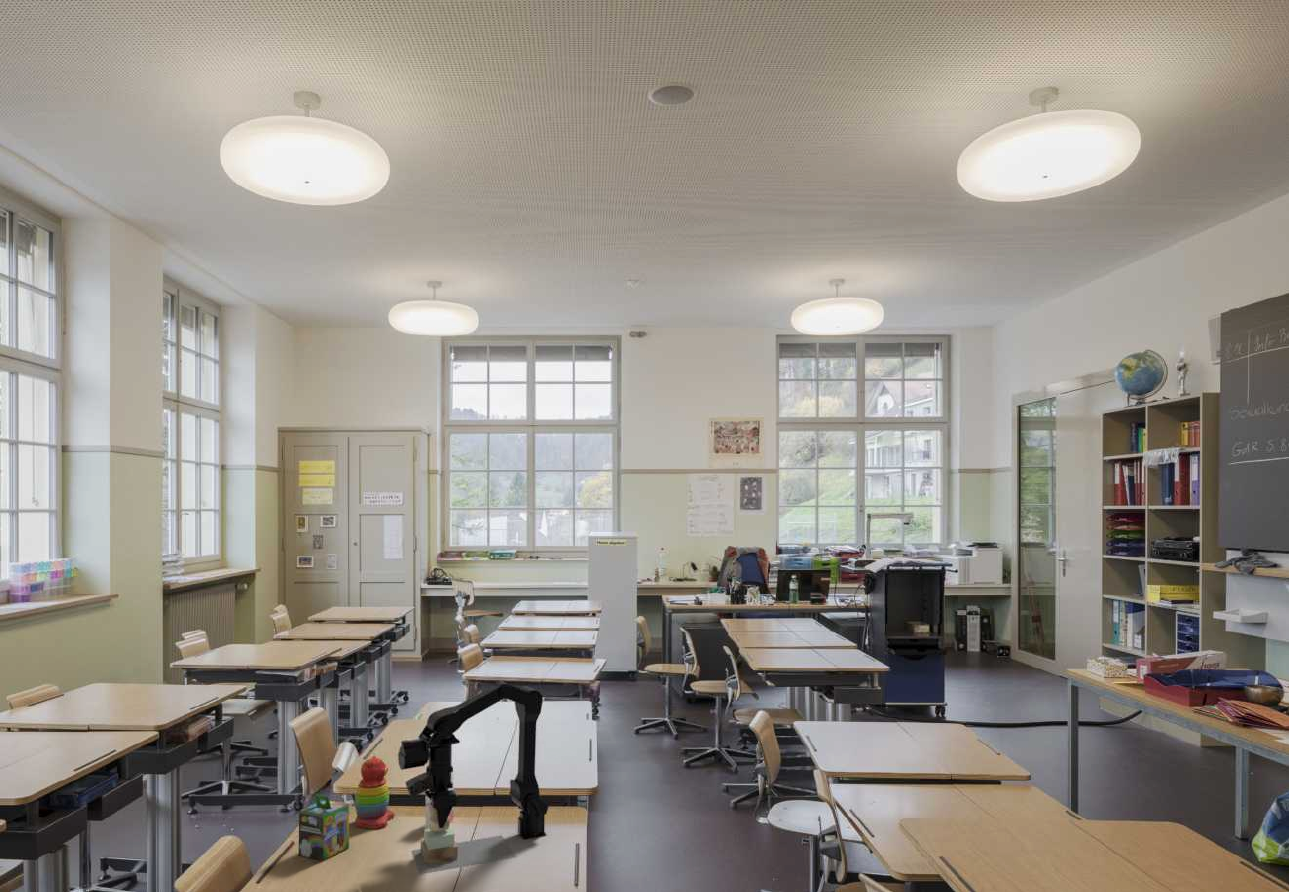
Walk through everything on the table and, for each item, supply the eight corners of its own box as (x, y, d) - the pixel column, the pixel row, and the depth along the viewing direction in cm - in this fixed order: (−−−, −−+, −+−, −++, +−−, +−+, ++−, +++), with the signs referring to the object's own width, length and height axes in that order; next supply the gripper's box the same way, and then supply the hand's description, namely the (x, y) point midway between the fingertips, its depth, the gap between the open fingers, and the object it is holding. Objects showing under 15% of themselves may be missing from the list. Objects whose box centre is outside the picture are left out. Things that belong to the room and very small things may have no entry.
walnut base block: (451, 847, 217) (451, 835, 217) (457, 858, 209) (457, 846, 210) (420, 852, 213) (420, 840, 214) (425, 864, 206) (425, 852, 206)
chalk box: (349, 848, 217) (351, 791, 218) (323, 862, 209) (324, 802, 210) (324, 842, 221) (325, 786, 222) (296, 855, 213) (298, 797, 214)
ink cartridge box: (437, 818, 238) (438, 766, 239) (453, 819, 237) (454, 767, 238) (424, 829, 229) (425, 776, 230) (440, 831, 228) (441, 777, 229)
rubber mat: (501, 836, 224) (501, 835, 224) (516, 858, 210) (516, 856, 210) (411, 852, 214) (411, 850, 214) (420, 875, 201) (420, 874, 201)
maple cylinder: (447, 822, 215) (447, 803, 215) (450, 829, 211) (451, 809, 211) (427, 825, 213) (428, 806, 213) (431, 832, 209) (431, 812, 209)
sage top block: (449, 836, 216) (449, 825, 216) (454, 846, 210) (454, 834, 210) (424, 841, 213) (424, 829, 213) (428, 850, 207) (428, 838, 207)
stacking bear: (384, 829, 230) (385, 764, 231) (348, 829, 230) (349, 764, 231) (396, 814, 240) (397, 752, 242) (362, 814, 241) (363, 752, 242)
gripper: (403, 756, 218) (402, 817, 217) (413, 777, 201) (412, 843, 200) (445, 751, 223) (444, 810, 222) (459, 771, 206) (458, 835, 205)
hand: (439, 824), depth 212 cm, fingers closed on maple cylinder, 5 cm apart
